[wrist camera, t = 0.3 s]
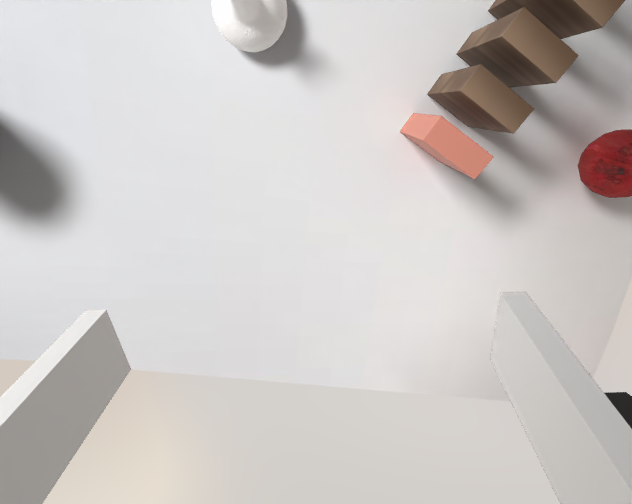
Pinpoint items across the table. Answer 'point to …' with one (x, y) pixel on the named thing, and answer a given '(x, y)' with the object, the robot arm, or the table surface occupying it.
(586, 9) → the domino
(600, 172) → the onion
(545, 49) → the domino
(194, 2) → the table surface
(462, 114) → the domino
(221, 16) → the garlic bulb
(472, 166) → the domino
